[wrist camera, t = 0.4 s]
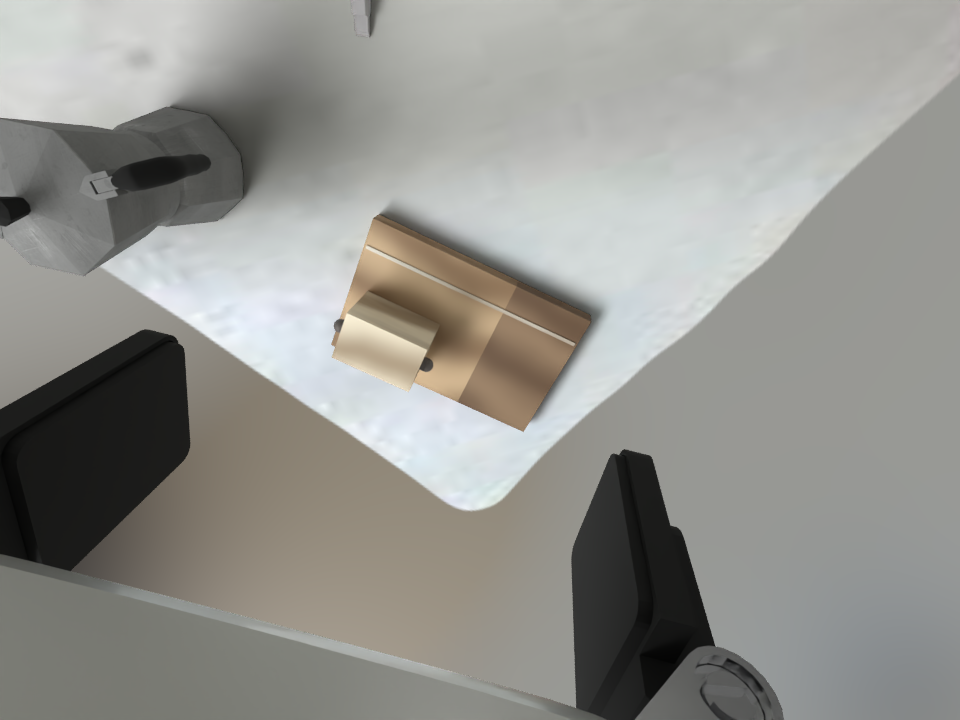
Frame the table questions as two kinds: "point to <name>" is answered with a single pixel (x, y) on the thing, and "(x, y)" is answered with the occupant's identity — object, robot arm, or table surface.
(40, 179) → the coffeepot
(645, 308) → the table surface
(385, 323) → the beige block with knob
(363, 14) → the caliper
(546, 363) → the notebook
